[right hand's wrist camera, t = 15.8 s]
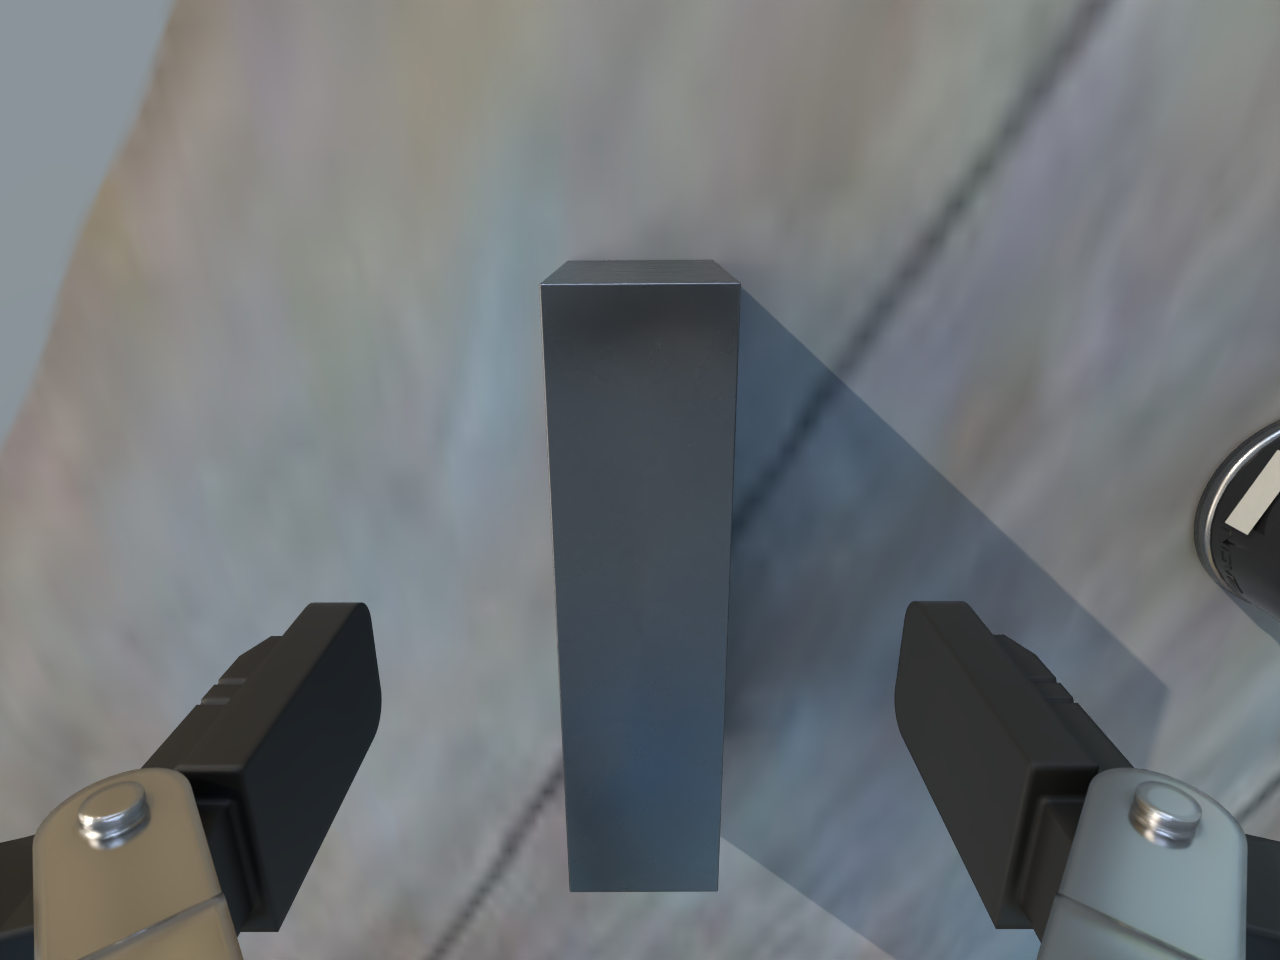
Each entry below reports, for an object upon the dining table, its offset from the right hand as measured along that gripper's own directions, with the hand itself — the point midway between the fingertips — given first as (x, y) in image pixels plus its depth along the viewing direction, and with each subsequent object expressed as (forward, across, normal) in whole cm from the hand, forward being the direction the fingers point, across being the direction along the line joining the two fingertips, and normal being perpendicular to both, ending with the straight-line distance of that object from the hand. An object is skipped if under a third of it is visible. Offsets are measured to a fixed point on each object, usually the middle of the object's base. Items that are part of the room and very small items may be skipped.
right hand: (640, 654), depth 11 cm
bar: (+23, 0, -8) cm, 24 cm away
